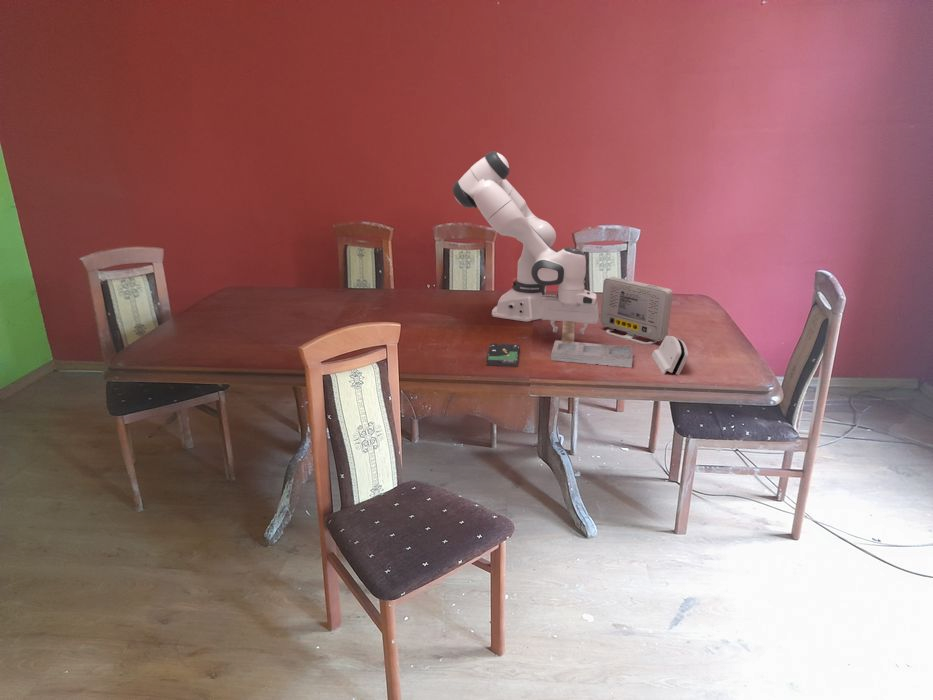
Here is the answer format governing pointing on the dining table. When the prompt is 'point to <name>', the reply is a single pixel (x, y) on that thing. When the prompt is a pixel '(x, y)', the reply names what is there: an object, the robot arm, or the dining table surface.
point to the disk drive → (503, 355)
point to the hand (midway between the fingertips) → (568, 332)
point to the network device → (636, 309)
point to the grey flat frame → (592, 353)
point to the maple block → (568, 331)
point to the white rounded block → (671, 355)
